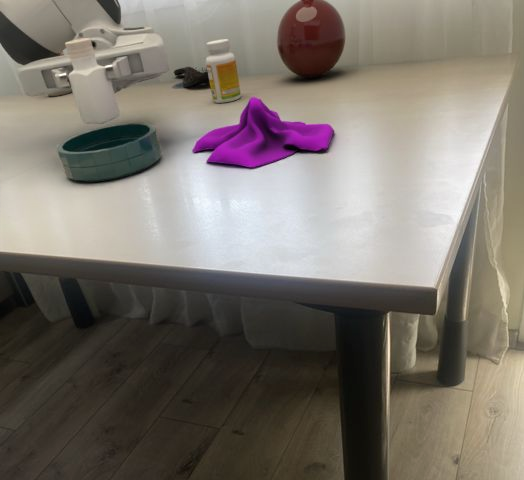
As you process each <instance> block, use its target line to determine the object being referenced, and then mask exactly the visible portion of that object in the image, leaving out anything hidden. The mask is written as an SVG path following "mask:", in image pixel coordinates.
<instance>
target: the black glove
mask: <svg viewBox="0 0 524 480" xmlns="http://www.w3.org/2000/svg"><path fill="white" fill-rule="evenodd" d="M173 74H174V76H175V77H178V76H182V75H184V77H183V79H182V84H183V88H190V87H192V86H194V87H195V86H198V85H201V84H206V83H210V82H209V76H208V71H207V66H205V67H204V68H203V67H201V69H197V66H196V67H195V68H194V67H191V66H185V67H180V68H177V69H174V71H173Z"/></svg>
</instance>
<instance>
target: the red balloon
mask: <svg viewBox="0 0 524 480" xmlns="http://www.w3.org/2000/svg"><path fill="white" fill-rule="evenodd" d="M345 45H346V28H345V23H344V20H343V18H342V15H341V14H340V12H339V11H338V10H337V8H336V7H335V6H334V5H333V4H331V2H328V1H327V0H298V1H296V2H295V3H293V4H291V6H290V7H289V8H288V9H287V10H286V11H285V13H283V15H282V17H281V19H280V21H279V24H278V27H277V32H276V47H277V52H278V54H279V58H280V59H281V61H282V63H283V64H284V66H285V67H286V68H287V69H288V70H289V71H290V72H291V73H292V74H294V75H296V76H299V77H302V78H309V79H312V78H317V77H320V76H324V75H325V74H327V73H328V72H330V71H331V70H332V69H334V67H335V66H336V65H337V63H338V62H339V61H340V59H341V57H342V54H343V52H344V49H345Z"/></svg>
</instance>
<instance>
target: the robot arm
mask: <svg viewBox="0 0 524 480" xmlns="http://www.w3.org/2000/svg"><path fill="white" fill-rule="evenodd" d="M121 21H122V7H121V4H120V2H119V0H0V46H1V47H2V48H3V50H4V51H5V52H6V54H7V55H8V56H9V58H11V59H12V60H13V61H14V62H15V63H16V64H19V65H21V66H20V67H18V68H17V70H16V72H17V77H18V79H19V83H20V85H21V88H22V90H23V92H24V94H25V95H26V96H27V97H40V96H45V95H48V94H50V93H56V92H61V91H67V90H72V89H71V85H70V82H69V80H68V75H69V74H70V73H71V72H72V71H73V70H74V68H73V65H72V62H71V60H70V58H69V54H68V53H67V54H64V55H62V56H58V55H59V54H60V52H62V51H63V52H64V50H65V49H66V46H65V43H66V42H69V41H73V40H78V39H83V38H90V40H91V43H92V46H93V50H94V53H95V58H96V62H97V64H98V65H100V66H103V67H105V69H106V72H107V73H108V75H107V76H108V79H109V81H110V80H111V83H112V86H113V90H114V93H115V94H117V93H118V92H121V91H122V90H124V89H127V88H129V87H131V86H133V85H134V84H137V83H142V82H145V81H148V80H152V79H155V78H156V79H157V78H159V77H162V76H163V74H166V73H169V72H170V65H169V60H168V55H167V51H166V47H165V42H164V39H163V38H162V37H161V35H159V34H158V33H155V30H154V28H153V27H151V26H139V27H125V25H124V24H123V23H122V22H121ZM66 50H67V49H66Z"/></svg>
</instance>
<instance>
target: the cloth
mask: <svg viewBox="0 0 524 480" xmlns="http://www.w3.org/2000/svg"><path fill="white" fill-rule="evenodd" d="M239 116H240V117H239V123H237V124H232V125H227V126H223V127H218V128H214V129H212V130H210V131H208V132H207V133H206V134H204V135H203V136H201V137H200V138H199V139H198V140H196V142H195V144H194V146H193V149H192V153H197V152H200V151H205V150H213V151H212V152H211V154H210V155H209V156H208V158H207V159H206V161H205V162H206V163H218V164H229V165H237V166H241V167H242V166H243V167H246V168H257V167H261V166H264V165H267V164H270V163H274V162H277V161H279V160H283V159H285V158H287V157H290V156H291V155H294V154H295V153H296V152H298V151H299V150H308V151H313V152H317V151H320V150H328V148H329V144H330V143H331V139H332V136H333V134H334V133H335V129H334V128H333V126H332V125H330V124H328V123H310V124H309V123H308V124H306V122H303V121H287V120H286V121H285V120H282V119H281V117H280V115H279V113H278V112H276V111H275V110H272V109H270V108H269V107H268V106H267V105H266V104H265V103H264V102H263V101H262V99H261V98H258V97H255V96H252V97H249V100H248V102H247V104H246V105H245V107H244V109H243V110H242V111H241V114H240V115H239Z"/></svg>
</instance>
